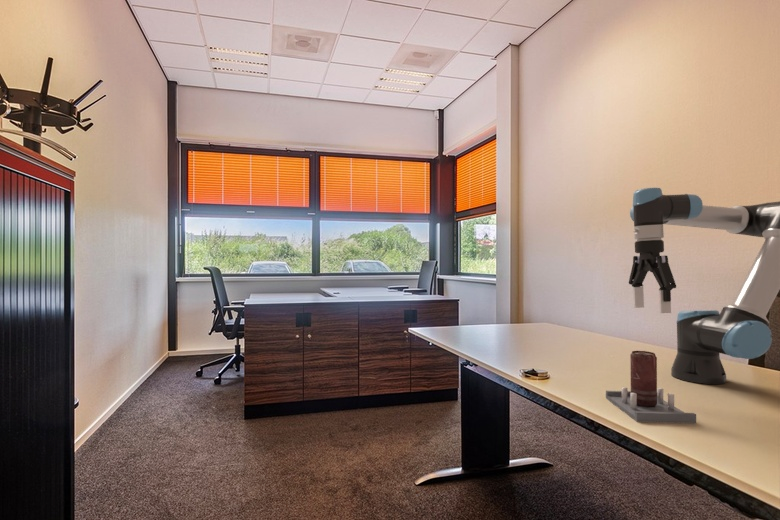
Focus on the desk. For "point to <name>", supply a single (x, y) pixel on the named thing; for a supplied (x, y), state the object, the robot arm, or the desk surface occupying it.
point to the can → (644, 377)
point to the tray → (649, 408)
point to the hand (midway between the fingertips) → (651, 310)
